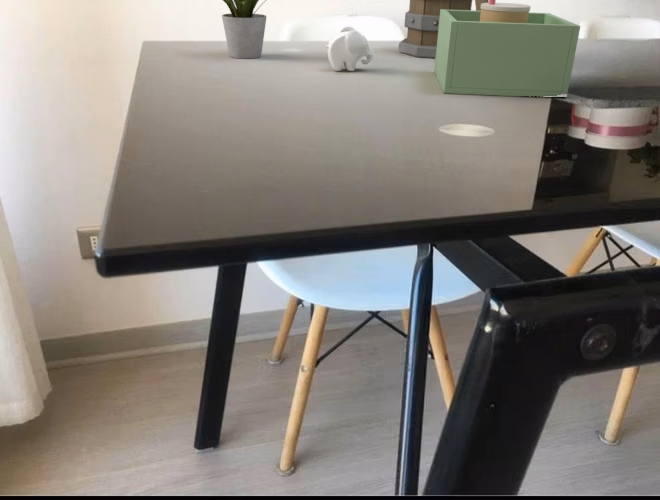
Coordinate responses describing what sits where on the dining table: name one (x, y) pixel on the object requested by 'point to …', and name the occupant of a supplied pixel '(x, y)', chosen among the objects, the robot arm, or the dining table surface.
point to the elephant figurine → (347, 49)
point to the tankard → (428, 24)
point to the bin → (504, 55)
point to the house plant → (244, 29)
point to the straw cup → (504, 12)
